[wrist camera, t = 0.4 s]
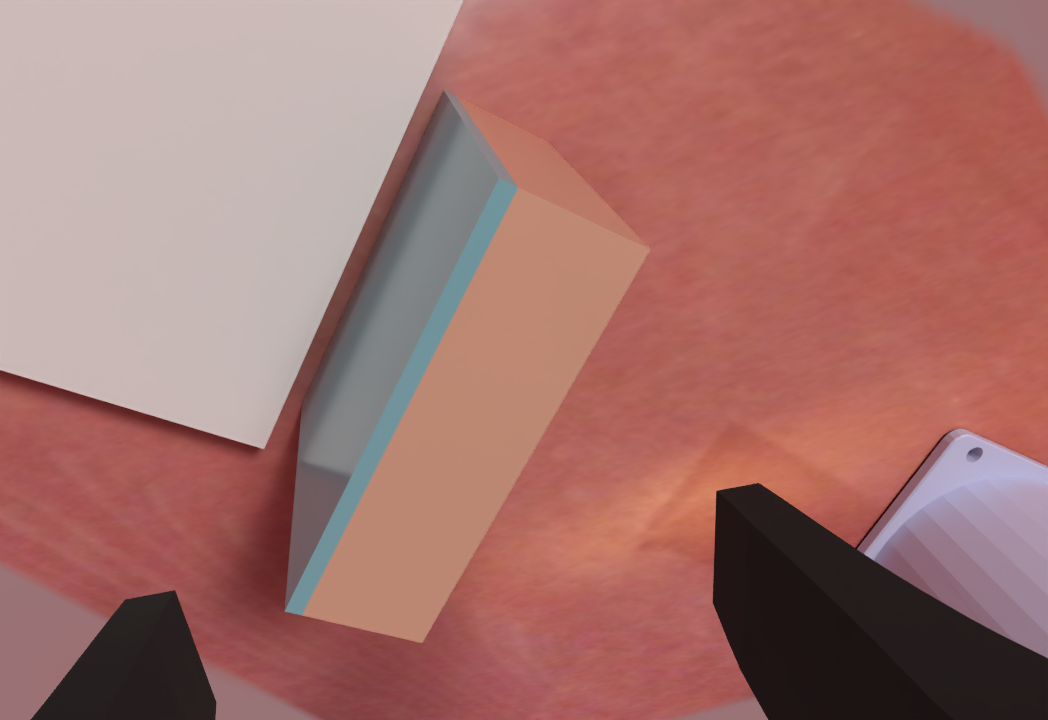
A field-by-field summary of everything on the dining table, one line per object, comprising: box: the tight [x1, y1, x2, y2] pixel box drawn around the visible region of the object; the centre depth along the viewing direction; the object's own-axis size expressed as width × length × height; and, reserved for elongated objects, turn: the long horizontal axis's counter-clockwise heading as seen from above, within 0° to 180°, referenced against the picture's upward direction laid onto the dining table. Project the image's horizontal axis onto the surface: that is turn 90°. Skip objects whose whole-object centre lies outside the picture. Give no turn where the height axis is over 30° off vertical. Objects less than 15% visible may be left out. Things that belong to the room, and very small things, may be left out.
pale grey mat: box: [0, 0, 464, 449], centre depth 16 cm, size 11×12×1 cm
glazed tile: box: [285, 91, 650, 643], centre depth 16 cm, size 2×8×7 cm, turn 152°
